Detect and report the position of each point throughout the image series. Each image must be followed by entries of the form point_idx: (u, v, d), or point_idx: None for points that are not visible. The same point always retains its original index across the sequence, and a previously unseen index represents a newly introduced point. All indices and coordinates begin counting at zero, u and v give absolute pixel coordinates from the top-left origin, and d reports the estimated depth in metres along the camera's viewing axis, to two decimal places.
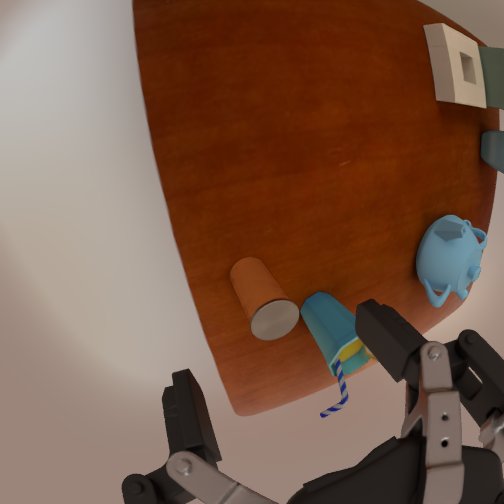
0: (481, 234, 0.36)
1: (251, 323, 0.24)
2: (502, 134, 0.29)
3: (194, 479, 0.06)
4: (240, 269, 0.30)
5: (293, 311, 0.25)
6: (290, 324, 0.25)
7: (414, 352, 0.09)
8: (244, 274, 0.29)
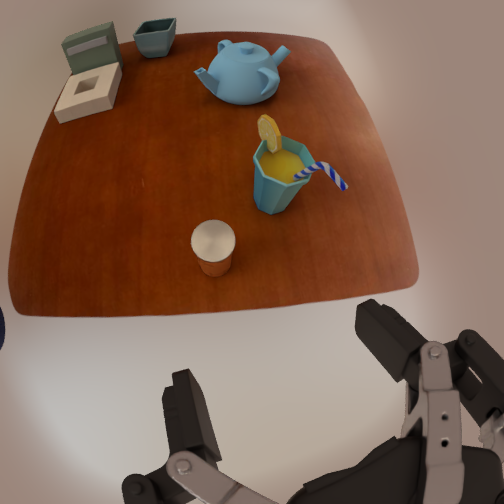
0: (221, 46, 0.43)
1: (208, 261, 0.29)
2: (138, 43, 0.44)
3: (194, 479, 0.06)
4: None
5: (207, 225, 0.30)
6: (222, 227, 0.30)
7: (414, 352, 0.09)
8: (199, 263, 0.34)
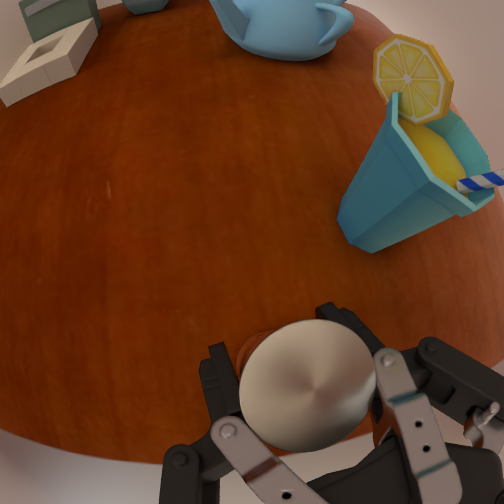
0: None
1: (299, 451, 0.07)
2: None
3: (240, 443, 0.07)
4: None
5: (292, 340, 0.08)
6: (338, 342, 0.08)
7: None
8: None
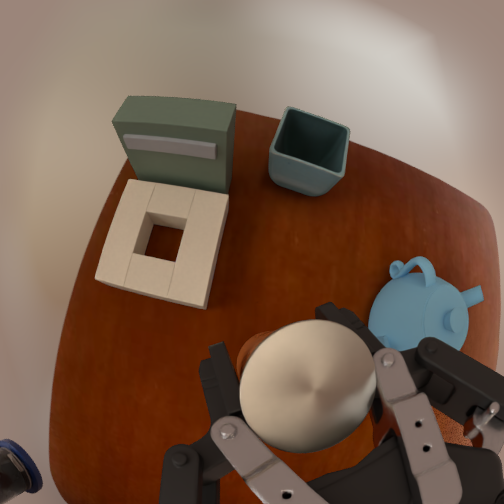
0: (415, 264, 0.28)
1: (300, 451, 0.07)
2: (273, 166, 0.31)
3: (241, 442, 0.07)
4: None
5: (292, 340, 0.08)
6: (338, 343, 0.08)
7: None
8: None
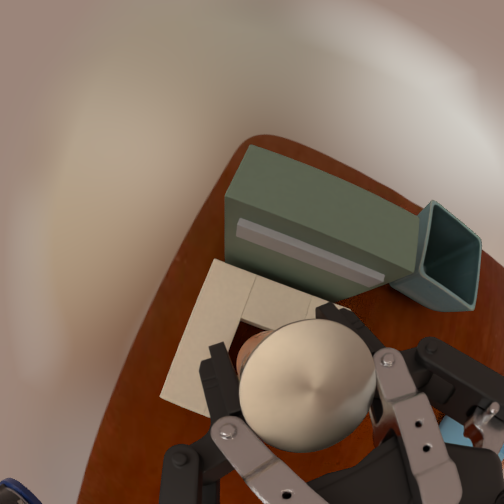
0: None
1: (300, 451, 0.07)
2: (409, 282, 0.22)
3: (241, 442, 0.07)
4: None
5: (292, 339, 0.08)
6: (338, 342, 0.08)
7: None
8: None
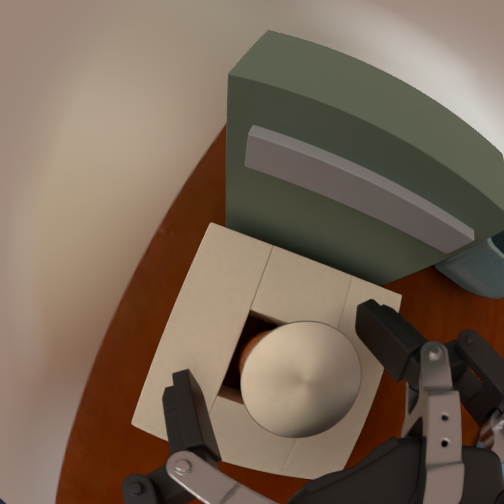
0: None
1: (293, 437, 0.09)
2: (469, 258, 0.15)
3: (194, 479, 0.06)
4: None
5: (286, 338, 0.10)
6: (327, 341, 0.10)
7: (414, 352, 0.09)
8: None
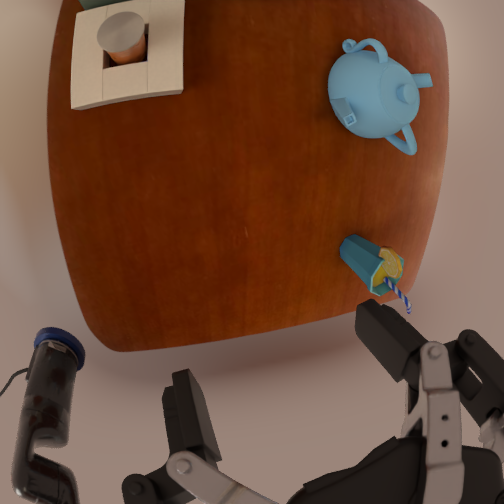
0: (368, 44, 0.25)
1: (123, 49, 0.18)
2: None
3: (194, 479, 0.06)
4: (118, 64, 0.23)
5: (108, 22, 0.15)
6: (124, 16, 0.16)
7: (414, 352, 0.09)
8: (115, 61, 0.22)
